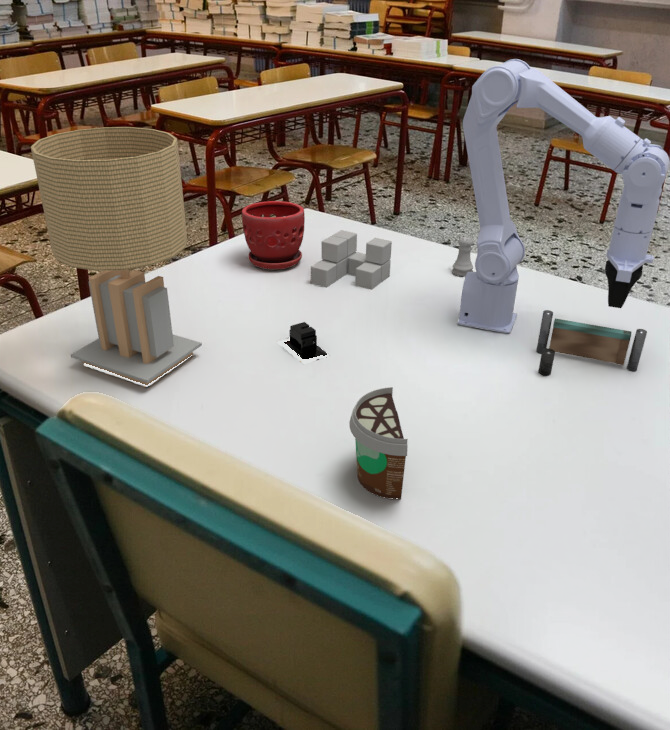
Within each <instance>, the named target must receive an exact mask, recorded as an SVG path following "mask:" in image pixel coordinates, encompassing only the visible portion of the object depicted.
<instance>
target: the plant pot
mask: <svg viewBox="0 0 670 730" xmlns="http://www.w3.org/2000/svg"><path fill="white" fill-rule="evenodd" d="M271 215H274V217H273V216H272V217H271ZM305 219H306V218H305V209H304V207H303V206H302V205H300V204H298V203H294V202H289V201H280V200H271V201H269V200H268V201H260V202H255V203H251V204H249V205H246V206H244V207H243V208H242V210H241V220H242V223H241V224H242V230H243V235H244V240H245V242H246V245H247V247H248V249H249V250H250V251H249V252H248V255H247V257H248V258H247V259H248V261H249V262H250V263H251V264H252V265H254V266H255V267H257V268H261V269H265V270H273V271H274V270H287V269H289V268H291V267H294V266H296V265H298V263H299V262H300V261H301V260H302V257H303V253H302V251H301V250H300V247H301V246H302V243H303V241H304V236H305V235H304V233H305Z"/></svg>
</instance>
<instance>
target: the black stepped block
mask: <svg viewBox="0 0 670 730" xmlns="http://www.w3.org/2000/svg"><path fill="white" fill-rule="evenodd" d="M289 328H290V329H289V337H290V341H287V342H284V343H285V344H287V345H288V346H289V347H290V348H291V349H292V350H294V351H295V352H296V353H297V355H298V354H299V355H300V357H301V358H302V359H309V358H313V357H317V356H320V355H323V356H325V355H327V353H328V352H327V351H326V350H325V349H323V348H322V347H320V346H319V345H318V343H317V341H318V340H317V339H318V337H317V334H316V333H317V332H316V329H315V328H314V327H312V326H310V325H309V324H308V323H307V322H306V321H303V322H299V323H296V324H292V325H290V326H289ZM317 345H318V346H317ZM321 348H322V349H323V350H322V349H321ZM326 352H327V353H326ZM299 355H298V356H299Z"/></svg>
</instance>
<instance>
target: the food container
mask: <svg viewBox="0 0 670 730" xmlns="http://www.w3.org/2000/svg"><path fill="white" fill-rule="evenodd" d="M393 390H394V388H393V387H391V386H390V387H383V388H382V387H381V388H379V389H378V388H377V389H373V390H372V391H370V392H367V393H366V394H364V395H362V396H361V397H360V398H359V399H358V401H357V402H356V404H355V405H354V407H353V408H352V412H351V415H350V420H349V430H350V432H351V434H352V436H353V437H354V438H355V439H354V440H355V456H356V457H355V459H356V473H357V474H356V475H357V480H358V482H359V484H360V485H361V486H362V488H364V490H365V491H367V492H369V493H371V494H372V493H373V494H372V495H374V494H375V495H374V496H377V495H378V496H377V497H380V496H381V497H380V498H383V497H385V498H384V499H388V498H393V499H392V500H402V494H403V485H404V477H405V476H404V475H405V469H406V467H405V466H406V460H407V456H408V448H409V447H408V438H404V433H403V429H402V426H401V422H400V418H399V413H398V411H397V409H396V405H395V401H394V398H393ZM396 498H398V499H396Z"/></svg>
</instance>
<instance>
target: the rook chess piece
mask: <svg viewBox="0 0 670 730" xmlns="http://www.w3.org/2000/svg"><path fill="white" fill-rule="evenodd" d="M457 242H458V244H459V246H458V247H457V249H458V254H457V258H456V260H455V261H454V263H453V264H452V269H451V271H452V274H453V275H455V276H457V277H460V278H461V277H462V278H465V276H466V274H467V272H474V271H473V269H474V266H473V262H472V260H471V251H472V250H473V248H472V245H473V244H474V240H473V236H471V235H467V234H464V235H460V236H459V239H458V240H457Z"/></svg>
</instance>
